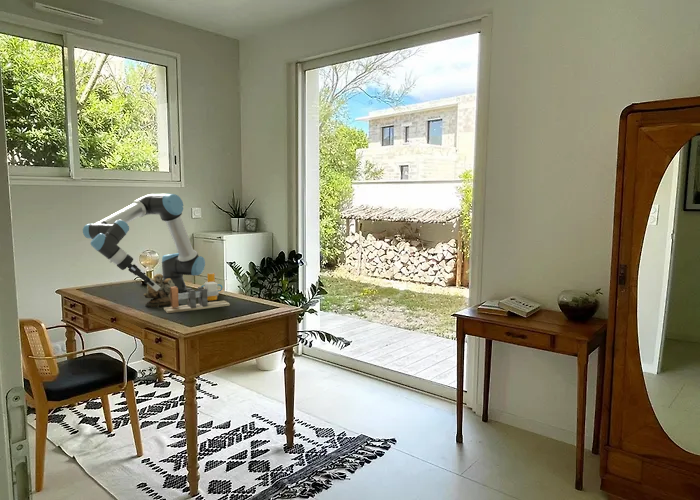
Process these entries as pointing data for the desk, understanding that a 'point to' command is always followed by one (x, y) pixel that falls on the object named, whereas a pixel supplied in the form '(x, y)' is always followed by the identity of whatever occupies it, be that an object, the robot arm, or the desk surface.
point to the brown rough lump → (159, 292)
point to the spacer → (211, 286)
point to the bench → (186, 308)
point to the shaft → (185, 295)
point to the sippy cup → (212, 279)
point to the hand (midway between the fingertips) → (156, 287)
